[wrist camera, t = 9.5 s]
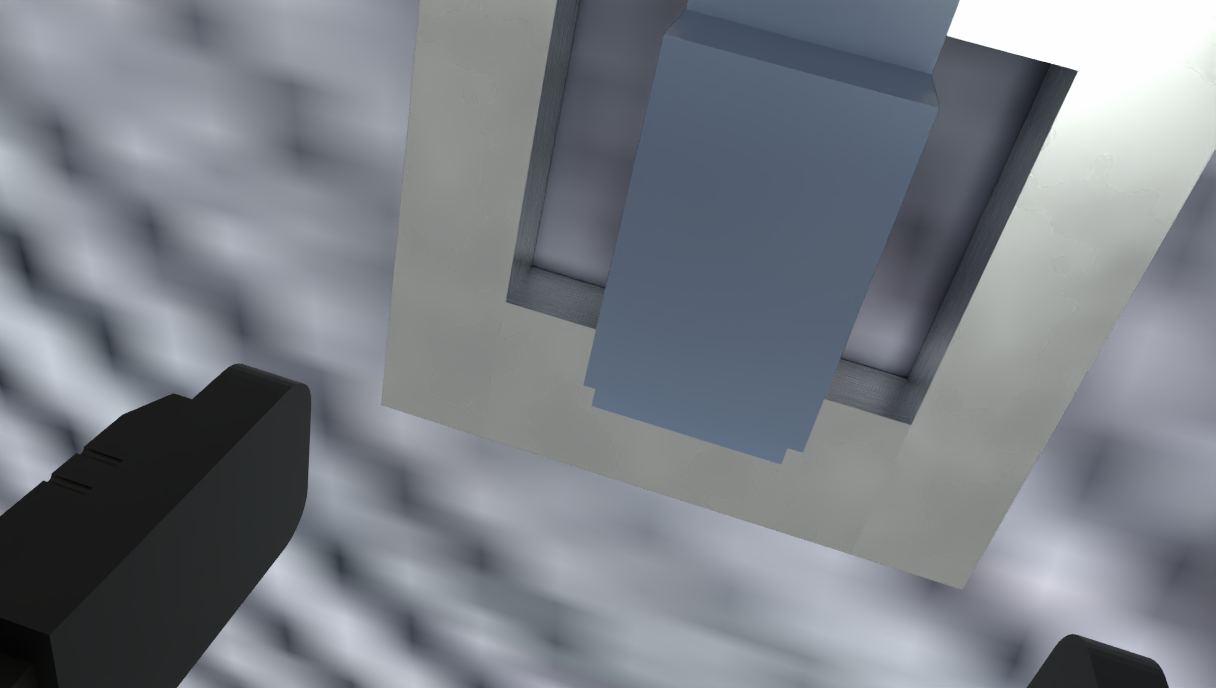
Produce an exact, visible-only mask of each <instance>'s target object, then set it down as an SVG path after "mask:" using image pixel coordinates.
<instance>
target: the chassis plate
mask: <svg viewBox="0 0 1216 688" xmlns="http://www.w3.org/2000/svg"><path fill="white" fill-rule="evenodd" d="M579 3H580V0H420V4H419V14H418V25H417V35H416V46H415V56H414V67H413V77H412V87H411V98H410V108H409V119H408V129H407V140H406V150H405V161H404V171H403V182H402V192H401V203H400V213H399V224H398V234H397V245H396V255H395V265H394V276H393V286H392V297H391V307H390V318H389V328H388V339H387V349H386V360H385V370H384V381H383V391H382V402H381V405H383V406H386V407H389V408H392V409H396V410H399V411H402V412H405V413H408V414H411V415H414V416H418V417H421V418H424V419H427V420H430V421H433V422H436V423H440V424H443V425H446V426H449V427H452V428H455V429H458V430H462V431H465V432H468V433H471V434H474V435H477V436H480V437H484V438H487V439H490V440H493V441H496V442H499V443H502V444H506V445H509V446H512V447H515V448H518V449H521V450H525V451H528V452H531V453H534V454H537V455H540V456H543V457H547V458H550V459H553V460H556V461H559V462H562V463H565V464H569V465H572V466H575V467H578V468H581V469H584V470H587V471H591V472H594V473H597V474H600V475H603V476H606V477H609V478H613V479H616V480H619V481H622V482H625V483H628V484H631V485H635V486H638V487H641V488H644V489H647V490H650V491H653V492H657V493H660V494H663V495H666V496H669V497H672V498H675V499H679V500H682V501H685V502H688V503H691V504H694V505H697V506H701V507H704V508H707V509H710V510H713V511H716V512H719V513H723V514H726V515H729V516H732V517H735V518H738V519H741V520H745V521H748V522H751V523H754V524H757V525H760V526H763V527H767V528H770V529H773V530H776V531H779V532H782V533H785V534H789V535H792V536H795V537H798V538H801V539H804V540H807V541H811V542H814V543H817V544H820V545H823V546H826V547H829V548H833V549H836V550H839V551H842V552H845V553H848V554H851V555H855V556H858V557H861V558H864V559H867V560H870V561H873V562H877V563H880V564H883V565H886V566H889V567H892V568H895V569H899V570H902V571H905V572H908V573H911V574H914V575H917V576H921V577H924V578H927V579H930V580H933V581H936V582H939V583H943V584H946V585H949V586H952V587H955V588H958V589H961V590H963V588H964V586H965V584H966V583H967V581H968V579H969V577H970V576H971V574H972V572H973V570H974V569H975V567H976V565H977V564H978V562H979V560H980V558H981V557H982V555H983V553H984V551H985V550H986V548H987V546H988V544H989V543H990V541H991V539H992V537H993V536H994V534H995V532H996V530H997V529H998V527H999V525H1000V523H1001V522H1002V520H1003V518H1004V516H1005V515H1006V513H1007V511H1008V509H1009V508H1010V506H1011V504H1012V503H1013V501H1014V499H1015V497H1016V496H1017V494H1018V492H1019V490H1020V489H1021V487H1022V485H1023V483H1024V482H1025V480H1026V478H1027V476H1028V475H1029V473H1030V471H1031V469H1032V468H1033V466H1034V464H1035V462H1036V461H1037V459H1038V457H1039V455H1040V454H1041V452H1042V450H1043V448H1044V447H1045V445H1046V443H1047V442H1048V440H1049V438H1050V436H1051V435H1052V433H1053V431H1054V429H1055V428H1056V426H1057V424H1058V422H1059V421H1060V419H1061V417H1062V415H1063V414H1064V412H1065V410H1066V408H1067V407H1068V405H1069V403H1070V401H1071V400H1072V398H1073V396H1074V394H1075V393H1076V391H1077V389H1078V387H1079V386H1080V384H1081V382H1082V381H1083V379H1084V377H1085V375H1086V374H1087V372H1088V370H1089V368H1090V367H1091V365H1092V363H1093V361H1094V360H1095V358H1096V356H1097V354H1098V353H1099V351H1100V349H1101V347H1102V346H1103V344H1104V342H1105V340H1106V339H1107V337H1108V335H1109V333H1110V332H1111V330H1112V328H1113V326H1114V325H1115V323H1116V321H1117V320H1118V318H1119V316H1120V314H1121V313H1122V311H1123V309H1124V307H1125V306H1126V304H1127V302H1128V300H1129V299H1130V297H1131V295H1132V293H1133V292H1134V290H1135V288H1136V286H1137V285H1138V283H1139V281H1140V279H1141V278H1142V276H1143V274H1144V272H1145V271H1146V269H1147V267H1148V265H1149V264H1150V262H1151V260H1152V259H1153V257H1154V255H1155V253H1156V252H1157V250H1158V248H1159V246H1160V245H1161V243H1162V241H1163V239H1164V238H1165V236H1166V234H1167V232H1168V231H1169V229H1170V227H1171V225H1172V224H1173V222H1174V220H1175V218H1176V217H1177V215H1178V213H1179V211H1180V210H1181V208H1182V206H1183V204H1184V203H1185V201H1186V199H1187V198H1188V196H1189V194H1190V192H1191V191H1192V189H1193V187H1194V185H1195V184H1196V182H1197V180H1198V178H1199V177H1200V175H1201V173H1202V171H1203V170H1204V168H1205V166H1206V164H1207V163H1208V161H1209V159H1210V157H1211V156H1212V154H1213V152H1214V150H1215V149H1216V0H960V2H959V4H958V7H957V10H956V12H955V15H954V17H953V20H952V23H951V25H950V28H949V30H948V33H947V36H949V37H953V38H957V39H961V40H964V41H968V42H972V43H976V44H980V45H983V46H987V47H991V48H995V49H999V50H1002V51H1006V52H1010V53H1014V54H1017V55H1021V56H1025V57H1029V58H1033V59H1036V60H1040V61H1044V62H1048V63H1051V65H1050V67H1049V69H1048V71H1047V73H1046V76H1045V78H1044V80H1043V82H1042V84H1041V87H1040V89H1039V91H1038V93H1037V95H1036V98H1035V100H1034V102H1033V104H1032V106H1031V109H1030V111H1029V113H1028V115H1027V117H1026V120H1025V122H1024V124H1023V126H1022V128H1021V131H1020V133H1019V135H1018V137H1017V139H1016V142H1015V144H1014V146H1013V148H1012V150H1011V153H1010V155H1009V157H1008V159H1007V161H1006V164H1005V166H1004V168H1003V170H1002V172H1001V175H1000V177H999V179H998V181H997V184H996V186H995V188H994V190H993V192H992V195H991V197H990V199H989V201H988V203H987V206H986V208H985V210H984V212H983V214H982V217H981V219H980V221H979V223H978V225H977V228H976V230H975V232H974V234H973V236H972V239H971V241H970V243H969V245H968V247H967V250H966V252H965V254H964V256H963V258H962V261H961V263H960V265H959V267H958V269H957V272H956V274H955V276H954V278H953V280H952V283H951V285H950V287H949V289H948V291H947V294H946V296H945V298H944V300H943V303H942V305H941V307H940V309H939V311H938V314H937V316H936V318H935V320H934V322H933V325H932V327H931V329H930V331H929V333H928V336H927V338H926V340H925V342H924V344H923V347H922V349H921V351H920V353H919V355H918V358H917V360H916V362H915V364H914V366H913V369H912V371H911V373H910V375H909V377H908V379H906V378H903V377H900V376H896V375H893V374H890V373H886V372H883V371H880V370H876V369H873V368H870V367H866V366H863V365H860V364H856V363H853V362H850V361H846V360H843V359H840V361H839V363H838V366H837V368H836V371H835V373H834V376H833V378H832V381H831V383H830V386H829V388H828V391H827V393H826V396H825V398H824V401H823V403H822V406H821V408H820V411H819V413H818V416H817V418H816V421H815V423H814V426H813V428H812V431H811V433H810V436H809V439H808V441H807V444H806V446H805V449H804V451H803V453H802V452H799V451H795V450H792V449H789V448H787V451H786V454H785V456H784V459H783V461H782V464H778V463H774V462H771V461H768V460H765V459H761V458H758V457H755V456H752V455H748V454H745V453H742V452H739V451H736V450H732V449H729V448H726V447H723V446H719V445H716V444H713V443H710V442H706V441H703V440H700V439H697V438H694V437H690V436H687V435H684V434H681V433H677V432H674V431H671V430H668V429H664V428H661V427H658V426H655V425H652V424H648V423H645V422H642V421H639V420H635V419H632V418H629V417H626V416H622V415H619V414H616V413H613V412H609V411H606V410H603V409H600V408H597V407H593V406H592V401H593V397H594V393H595V389H594V388H590V387H587V386H584V385H583V384H584V380H585V376H586V371H587V367H588V363H589V358H590V354H591V349H592V345H593V341H594V336H595V332H596V328H597V323H598V319H599V315H600V310H601V306H602V301H603V297H604V293H605V288H602V287H599V286H595V285H592V284H589V283H585V282H582V281H579V280H575V279H572V278H569V277H565V276H562V275H558V274H555V273H552V272H548V271H545V270H542V269H538V268H535V267H532V261H533V255H534V250H535V244H536V239H537V233H538V228H539V222H540V217H541V211H542V206H543V200H544V195H545V189H546V184H547V178H548V173H549V168H550V162H551V157H552V151H553V146H554V140H555V135H556V129H557V124H558V118H559V113H560V107H561V102H562V96H563V91H564V85H565V80H566V74H567V69H568V63H569V58H570V52H571V47H572V42H573V36H574V31H575V25H576V20H577V14H578V9H579Z"/></svg>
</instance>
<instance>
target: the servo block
mask: <svg viewBox="0 0 1216 688" xmlns="http://www.w3.org/2000/svg"><path fill="white" fill-rule="evenodd" d="M959 2H960V0H688V1H687V6H686V10H685V11H684V12H683V13H682V14H681V15H680V16H679V17H678V19H677V20H676V21H675V22H674V23H673V24H672V25H671V27H670V28H669V29H668V30H667V31H666V32H665V33H664V35H663V39H662V43H661V48H660V52H659V56H658V61H657V65H656V70H655V74H654V78H653V83H652V87H651V91H650V96H649V100H648V105H647V109H646V113H645V118H644V122H643V126H642V131H641V135H640V140H639V144H638V148H637V153H636V157H635V161H634V166H633V170H632V175H631V179H630V183H629V188H628V192H627V196H626V201H625V205H624V210H623V214H622V218H621V223H620V227H619V231H618V236H617V240H616V245H615V249H614V253H613V258H612V262H611V266H610V271H609V275H608V280H607V284H606V288H605V293H604V297H603V301H602V306H601V310H600V315H599V319H598V323H597V328H596V332H595V336H594V341H593V345H592V349H591V354H590V358H589V363H588V367H587V371H586V376H585V380H584V384H583V385H584V386H587V387H590V388H594V389H595V393H594V397H593V401H592V406H593V407H597V408H600V409H603V410H606V411H609V412H613V413H616V414H619V415H622V416H626V417H629V418H632V419H635V420H639V421H642V422H645V423H648V424H652V425H655V426H658V427H661V428H664V429H668V430H671V431H674V432H677V433H681V434H684V435H687V436H690V437H694V438H697V439H700V440H703V441H706V442H710V443H713V444H716V445H719V446H723V447H726V448H729V449H732V450H736V451H739V452H742V453H745V454H748V455H752V456H755V457H758V458H761V459H765V460H768V461H771V462H774V463H778V464H782V461H783V459H784V456H785V454H786V451H787V448H789V449H792V450H795V451H799V452H802V453H803V451H804V449H805V446H806V444H807V441H808V439H809V436H810V433H811V431H812V428H813V426H814V423H815V421H816V418H817V416H818V413H819V411H820V408H821V406H822V403H823V401H824V398H825V396H826V393H827V391H828V388H829V386H830V383H831V381H832V378H833V376H834V373H835V371H836V368H837V366H838V363H839V361H840V358H841V355H842V353H843V350H844V348H845V345H846V343H847V340H848V338H849V335H850V333H851V330H852V328H853V325H854V323H855V320H856V318H857V315H858V313H859V310H860V308H861V305H862V303H863V300H864V298H865V295H866V293H867V290H868V288H869V285H870V283H871V280H872V277H873V275H874V272H875V270H876V267H877V265H878V262H879V260H880V257H881V255H882V252H883V250H884V247H885V245H886V242H887V240H888V237H889V235H890V232H891V230H892V227H893V225H894V222H895V220H896V217H897V215H898V212H899V210H900V207H901V205H902V202H903V199H904V197H905V194H906V192H907V189H908V187H909V184H910V182H911V179H912V177H913V174H914V172H915V169H916V167H917V164H918V162H919V159H920V157H921V154H922V152H923V149H924V147H925V144H926V142H927V139H928V137H929V134H930V132H931V129H932V127H933V124H934V121H935V119H936V116H937V114H938V111H939V109H940V107H939V103H938V99H937V95H936V91H935V87H934V83H933V79H932V72H933V69H934V67H935V64H936V62H937V59H938V56H939V54H940V51H941V49H942V46H943V43H944V41H945V38H946V36H947V33H948V30H949V28H950V25H951V23H952V20H953V17H954V15H955V12H956V10H957V7H958V4H959Z"/></svg>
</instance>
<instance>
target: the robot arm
mask: <svg viewBox="0 0 1216 688" xmlns="http://www.w3.org/2000/svg"><path fill="white" fill-rule="evenodd" d="M310 420H311V394H310V390H309V388H308V387H307V385H305V384H303V383H300V382H297V381H294V380H291V379H288V378H285V377H281V376H278V375H275V374H272V373H269V372H266V371H263V370H260V369H257V368H253V367H250V366H247V365H244V364H234V365H232V366H230V367H228V368H227V369H226V370H224V371H223V372H222V373H221V374H220V375H219V376H218V377H217V378H215V379H214V380H213V381H212V382H211V383H210V384H209V385H208V386H207V387H205V388H204V389H203V390H202V391H201V392H200V393H199V394H198V395H196V396H195V397H194V398H193V399H189V398H186V397H183V396H180V395H177V394H174V393H173V394H171V395H168V396H166V397H164V398H161V399H159V400H157V401H154V402H152V403H149V404H147V405H145V406H142V407H140V408H138V409H135V410H133V411H130V412H128V413H126V414H123V415H122V416H120V417H119V418H118V419H117V420H116V421H114V422H113V423H112V424H111V425H110V426H108V427H107V428H106V429H105V430H104V431H102V432H101V433H100V434H99V435H98V436H96V437H95V438H94V439H93V440H92V441H90V442H89V443H88V444H87V445H86V446H84V450H83V452H82V453H81V454H77V453H76V454H75V455H74V456H72V457H71V458H70V459H69V460H68V461H66V462H65V463H64V464H63V465H62V466H60V467H59V468H58V469H57V470H56V471H54V472H53V473H52V476H51V479H50V480H49V481H48V482H46V481H42V482H41V483H40V484H39V485H38V486H36V487H35V488H34V489H33V490H31V491H30V492H29V493H28V494H27V495H25V496H24V497H23V498H22V499H21V500H19V501H18V502H17V503H16V504H15V505H13V506H12V507H11V508H10V509H9V510H7V511H6V512H5V513H4V514H3V515H1V516H0V688H177V687H178V685H179V684H180V683H181V682H182V680H183V679H184V678H185V676H186V675H187V674H188V673H189V671H190V670H191V669H192V667H193V666H194V665H195V664H196V662H197V661H198V660H199V658H200V657H201V656H202V655H203V653H204V652H205V651H206V649H207V648H208V647H209V645H210V644H211V643H212V642H213V640H214V639H215V638H216V636H217V635H218V634H219V633H220V631H221V630H222V629H223V627H224V626H225V625H226V624H227V622H228V621H229V620H230V618H231V617H232V616H233V615H234V613H235V612H236V611H237V609H238V608H239V607H240V606H241V604H242V603H243V602H244V600H245V599H246V598H247V596H248V595H249V594H250V593H251V591H252V590H253V589H254V587H255V586H256V585H257V584H258V582H259V581H260V580H261V578H262V577H263V576H264V575H265V573H266V572H267V571H268V569H269V568H270V567H271V566H272V564H273V563H274V562H275V560H276V559H277V558H278V557H279V555H280V554H281V553H282V551H283V550H284V549H285V547H286V546H287V544H288V543H289V541H290V540H291V538H292V536H293V534H294V532H295V530H296V528H297V526H298V524H299V521H300V519H301V516H302V513H303V510H304V506H305V502H306V497H307V489H308V467H309V443H310ZM1027 688H1169V687H1168V684H1167V681H1166V678H1165V675H1164V673H1163V671H1162V669H1161V667H1160V666H1159V665H1158V664H1157V663H1156V662H1155V661H1154V660H1152V659H1150V658H1147V657H1144V656H1141V655H1138V654H1135V653H1132V652H1129V651H1126V650H1123V649H1119V648H1116V647H1113V646H1110V645H1107V644H1104V643H1101V642H1098V641H1095V640H1091V639H1088V638H1085V637H1082V636H1079V635H1075V634H1071V635H1068V636H1066V637H1064V638H1063V639H1062V640H1061V641H1059V643H1058V644H1057V645H1056V646H1055V648H1054V649H1053V651H1052V652H1051V654H1050V655H1049V656H1048V658H1047V659H1046V661H1045V662H1044V664H1043V665H1042V667H1041V668H1040V669H1039V671H1038V672H1037V674H1036V675H1035V677H1034V678H1033V680H1032V681H1031V682H1030V684H1029V685H1028V687H1027Z"/></svg>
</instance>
